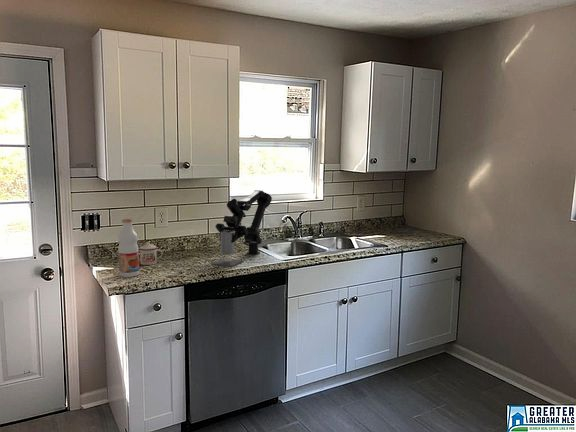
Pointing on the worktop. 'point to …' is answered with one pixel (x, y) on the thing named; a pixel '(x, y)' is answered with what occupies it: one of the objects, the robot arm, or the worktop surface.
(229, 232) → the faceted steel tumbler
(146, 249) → the teacup with lid
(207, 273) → the worktop surface
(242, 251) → the worktop surface
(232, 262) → the rubber mat
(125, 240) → the fruit juice
